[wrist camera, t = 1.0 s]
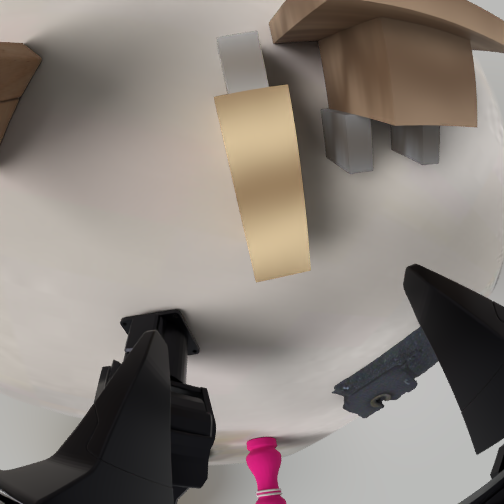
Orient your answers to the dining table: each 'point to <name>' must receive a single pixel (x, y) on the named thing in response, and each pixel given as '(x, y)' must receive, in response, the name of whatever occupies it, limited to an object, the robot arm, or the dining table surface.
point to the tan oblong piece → (263, 160)
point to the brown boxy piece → (392, 69)
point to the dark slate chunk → (387, 375)
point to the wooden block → (14, 77)
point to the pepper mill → (265, 469)
